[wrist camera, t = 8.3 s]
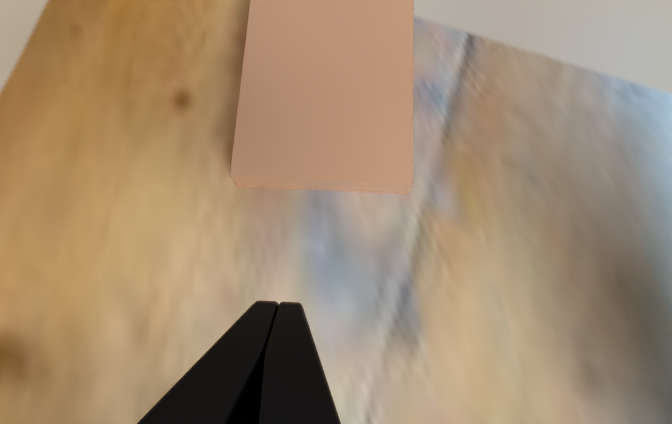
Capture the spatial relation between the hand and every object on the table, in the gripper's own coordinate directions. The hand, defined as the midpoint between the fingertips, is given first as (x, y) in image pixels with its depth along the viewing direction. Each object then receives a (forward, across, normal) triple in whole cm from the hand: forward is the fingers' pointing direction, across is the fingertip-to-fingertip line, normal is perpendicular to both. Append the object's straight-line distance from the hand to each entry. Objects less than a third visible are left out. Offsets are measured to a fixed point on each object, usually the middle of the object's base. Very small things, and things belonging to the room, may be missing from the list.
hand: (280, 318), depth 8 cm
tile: (+15, 0, 0) cm, 15 cm away
